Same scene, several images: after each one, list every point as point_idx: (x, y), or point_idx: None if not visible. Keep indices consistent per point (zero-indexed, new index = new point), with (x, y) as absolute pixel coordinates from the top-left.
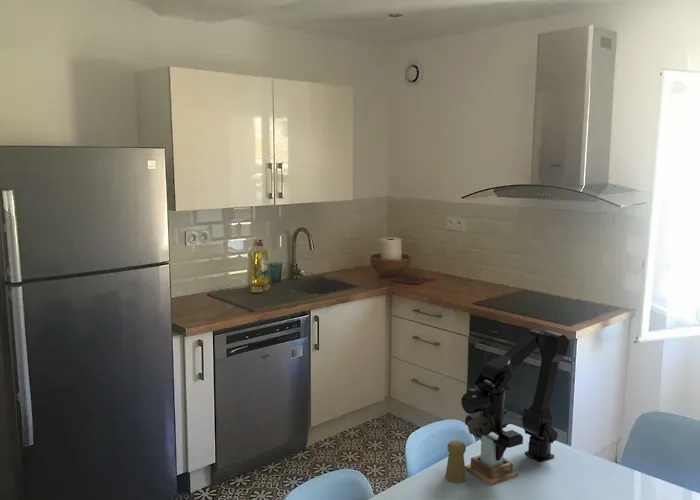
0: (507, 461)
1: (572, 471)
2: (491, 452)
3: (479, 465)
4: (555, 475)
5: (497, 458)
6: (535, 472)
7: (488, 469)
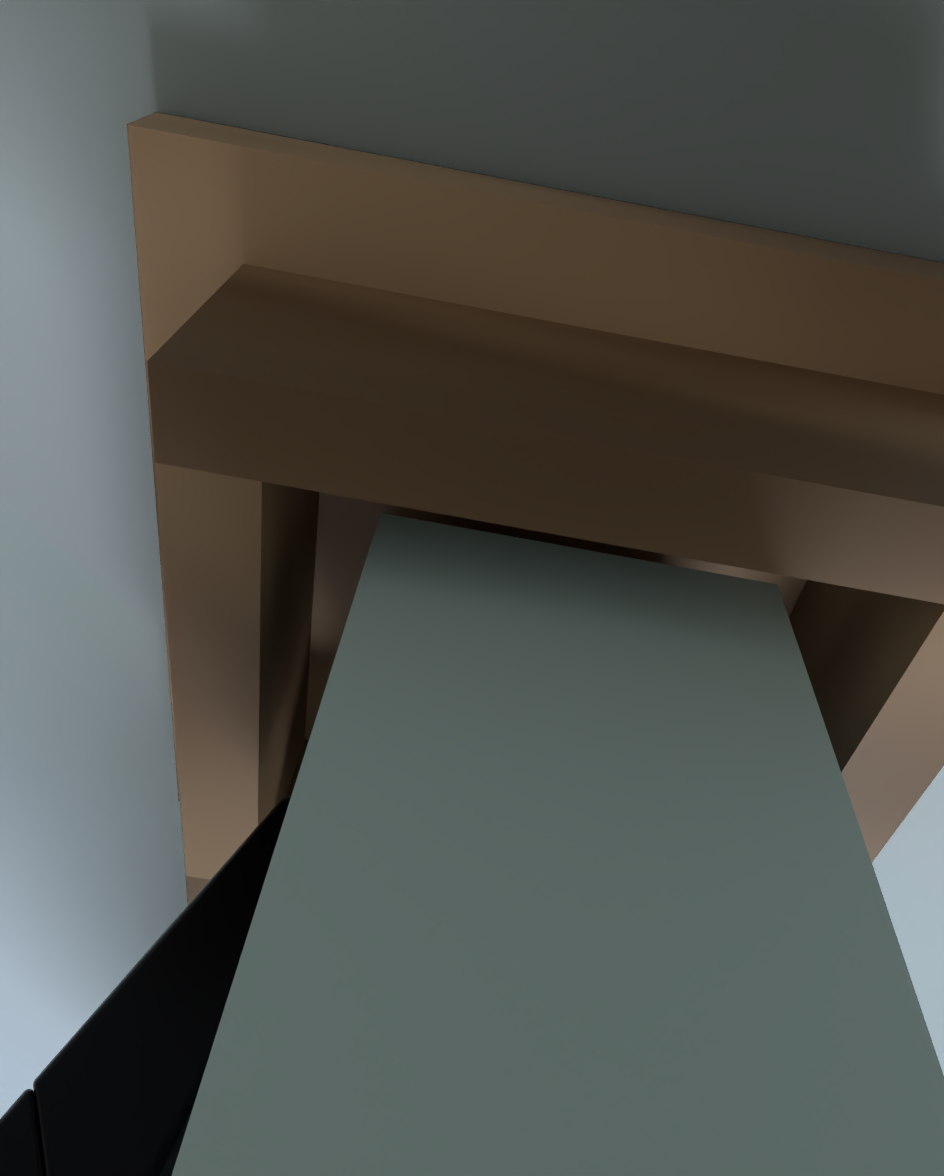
0: None
1: (16, 1085)
2: (258, 965)
3: (685, 428)
4: (8, 982)
5: (239, 851)
6: (161, 927)
7: (265, 371)
